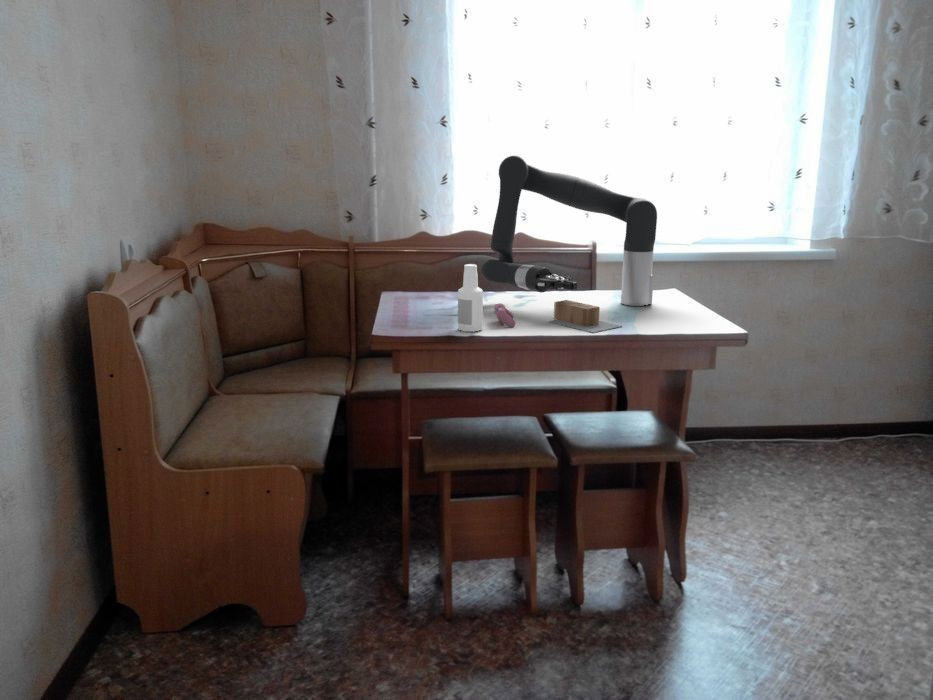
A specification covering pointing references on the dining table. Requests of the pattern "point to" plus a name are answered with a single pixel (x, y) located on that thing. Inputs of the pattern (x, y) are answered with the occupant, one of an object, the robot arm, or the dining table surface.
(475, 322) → the spray bottle
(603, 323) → the rubber mat
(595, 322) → the walnut block
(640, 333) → the dining table surface
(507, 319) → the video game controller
